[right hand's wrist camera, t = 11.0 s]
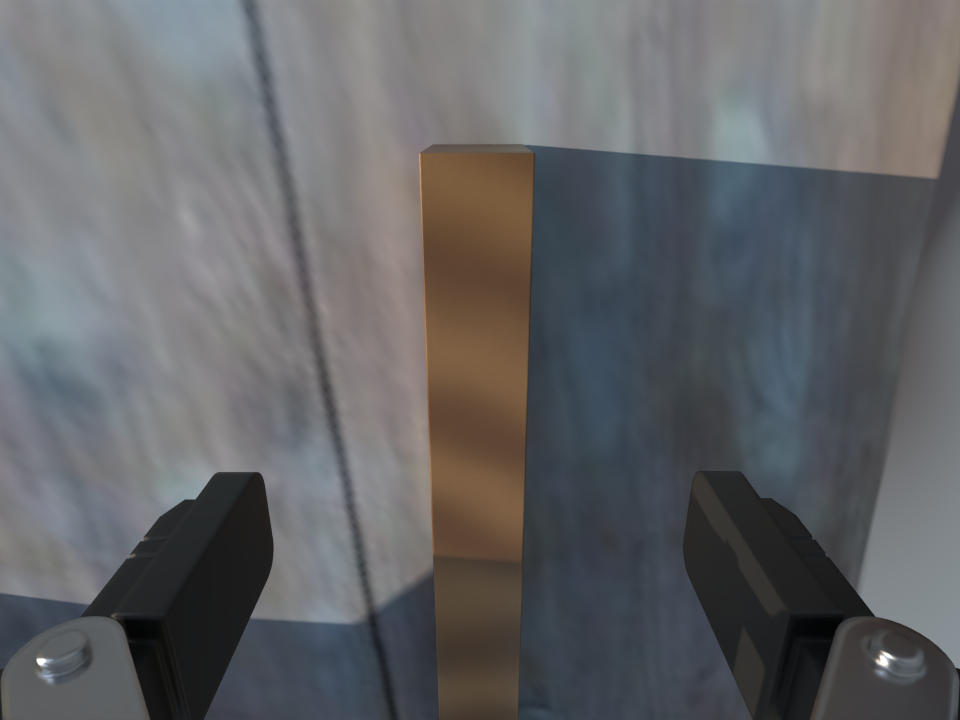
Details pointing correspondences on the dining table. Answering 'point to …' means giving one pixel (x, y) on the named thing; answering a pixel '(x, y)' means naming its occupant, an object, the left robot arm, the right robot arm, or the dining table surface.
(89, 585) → the dining table surface
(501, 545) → the bar
